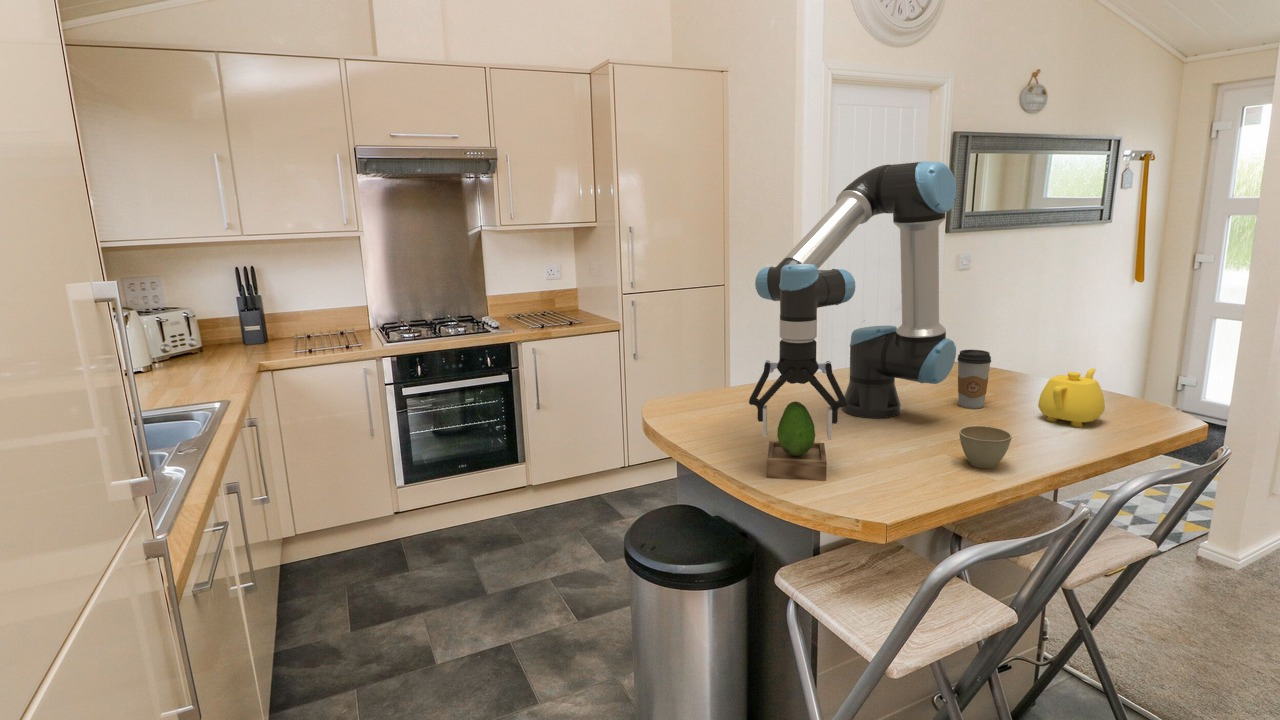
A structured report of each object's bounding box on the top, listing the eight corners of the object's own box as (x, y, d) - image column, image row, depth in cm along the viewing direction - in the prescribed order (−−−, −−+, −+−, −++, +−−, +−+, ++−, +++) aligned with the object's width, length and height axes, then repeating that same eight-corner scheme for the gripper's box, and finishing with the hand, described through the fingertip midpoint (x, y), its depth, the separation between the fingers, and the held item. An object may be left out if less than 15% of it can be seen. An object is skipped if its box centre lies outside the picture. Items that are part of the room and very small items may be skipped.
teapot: (1117, 418, 177) (1123, 370, 174) (1081, 434, 165) (1086, 384, 163) (1061, 407, 187) (1066, 362, 185) (1023, 421, 176) (1027, 374, 174)
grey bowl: (948, 458, 154) (950, 427, 152) (991, 455, 155) (993, 424, 153) (973, 474, 144) (975, 441, 142) (1019, 471, 145) (1022, 438, 143)
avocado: (792, 463, 145) (791, 408, 143) (770, 453, 152) (769, 400, 150) (823, 456, 148) (823, 402, 146) (800, 446, 155) (800, 394, 153)
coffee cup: (954, 408, 189) (958, 354, 186) (953, 400, 197) (957, 348, 194) (989, 411, 186) (993, 356, 183) (986, 402, 194) (990, 349, 190)
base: (823, 459, 155) (824, 442, 155) (826, 480, 144) (826, 462, 143) (769, 457, 158) (769, 440, 157) (767, 477, 146) (767, 459, 146)
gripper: (858, 336, 146) (855, 433, 150) (739, 335, 151) (739, 429, 156) (862, 343, 139) (858, 444, 143) (736, 342, 144) (737, 440, 148)
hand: (796, 437), depth 149 cm, fingers open, 13 cm apart
